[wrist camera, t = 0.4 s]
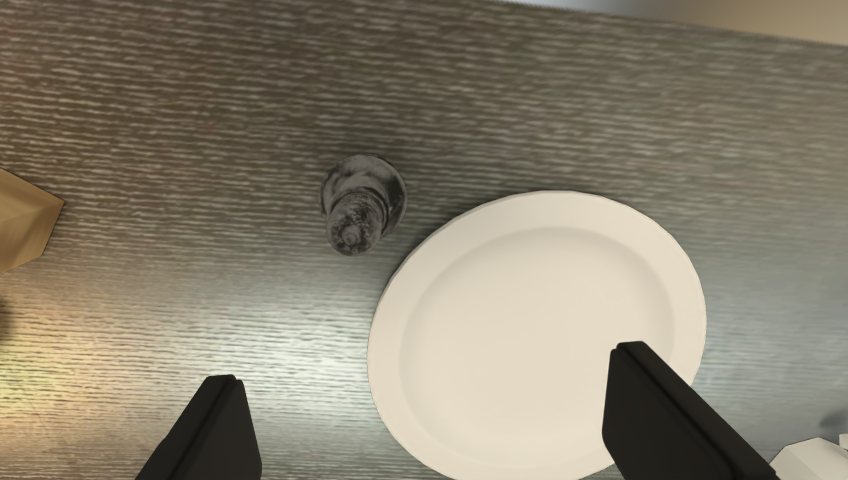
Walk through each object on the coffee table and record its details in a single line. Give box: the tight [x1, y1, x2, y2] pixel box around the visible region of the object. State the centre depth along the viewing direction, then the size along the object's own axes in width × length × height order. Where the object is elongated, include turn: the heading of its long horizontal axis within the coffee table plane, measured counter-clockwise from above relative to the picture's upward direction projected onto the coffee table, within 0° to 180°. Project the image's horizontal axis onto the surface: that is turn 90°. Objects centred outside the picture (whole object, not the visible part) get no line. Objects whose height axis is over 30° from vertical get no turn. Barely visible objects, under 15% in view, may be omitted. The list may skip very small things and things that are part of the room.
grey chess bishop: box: [319, 153, 407, 256], centre depth 25 cm, size 6×6×12 cm
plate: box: [367, 191, 707, 480], centre depth 35 cm, size 28×28×2 cm
